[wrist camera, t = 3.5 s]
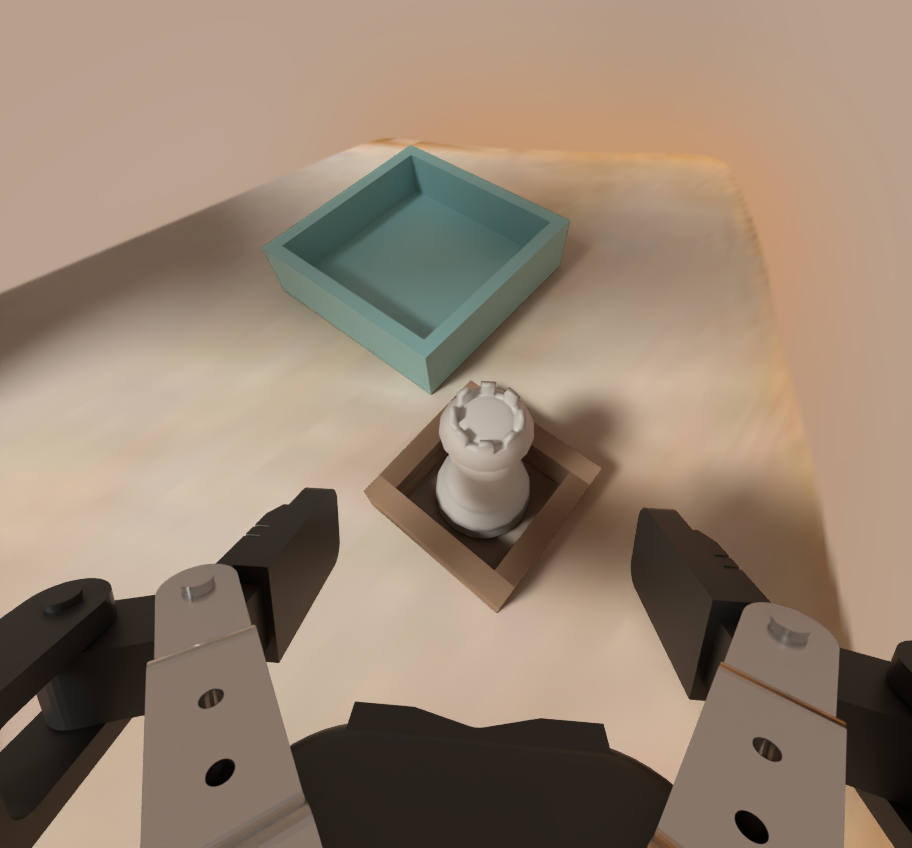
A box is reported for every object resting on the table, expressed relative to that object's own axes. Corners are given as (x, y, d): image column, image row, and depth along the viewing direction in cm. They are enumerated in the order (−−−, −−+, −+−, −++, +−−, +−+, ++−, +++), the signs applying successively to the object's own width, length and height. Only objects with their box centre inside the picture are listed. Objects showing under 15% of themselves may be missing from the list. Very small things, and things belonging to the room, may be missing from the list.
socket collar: (372, 505, 21) (363, 491, 19) (470, 401, 24) (470, 380, 22) (496, 613, 19) (499, 608, 17) (591, 484, 21) (601, 468, 19)
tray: (284, 289, 28) (262, 247, 25) (416, 191, 32) (410, 144, 29) (430, 394, 24) (425, 358, 21) (560, 265, 28) (570, 220, 25)
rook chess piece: (424, 527, 20) (399, 459, 13) (450, 444, 22) (440, 346, 15) (518, 552, 20) (544, 494, 13) (536, 464, 22) (567, 371, 15)
